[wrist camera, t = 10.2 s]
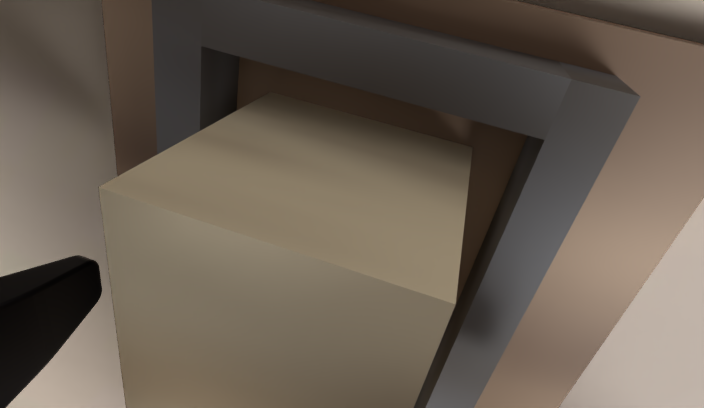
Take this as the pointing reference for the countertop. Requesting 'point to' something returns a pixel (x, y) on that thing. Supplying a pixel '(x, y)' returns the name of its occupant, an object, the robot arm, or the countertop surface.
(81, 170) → the countertop surface
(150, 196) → the maple block
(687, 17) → the countertop surface
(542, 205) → the nest board
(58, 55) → the countertop surface
